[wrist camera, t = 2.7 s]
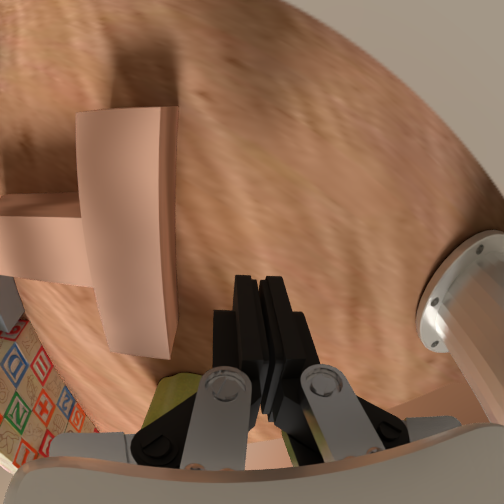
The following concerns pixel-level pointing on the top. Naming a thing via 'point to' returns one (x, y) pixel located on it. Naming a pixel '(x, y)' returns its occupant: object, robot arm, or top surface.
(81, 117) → the t block
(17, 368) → the stack of blocks
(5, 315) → the t dock
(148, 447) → the robot arm
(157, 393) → the plant pot
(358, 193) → the top surface
